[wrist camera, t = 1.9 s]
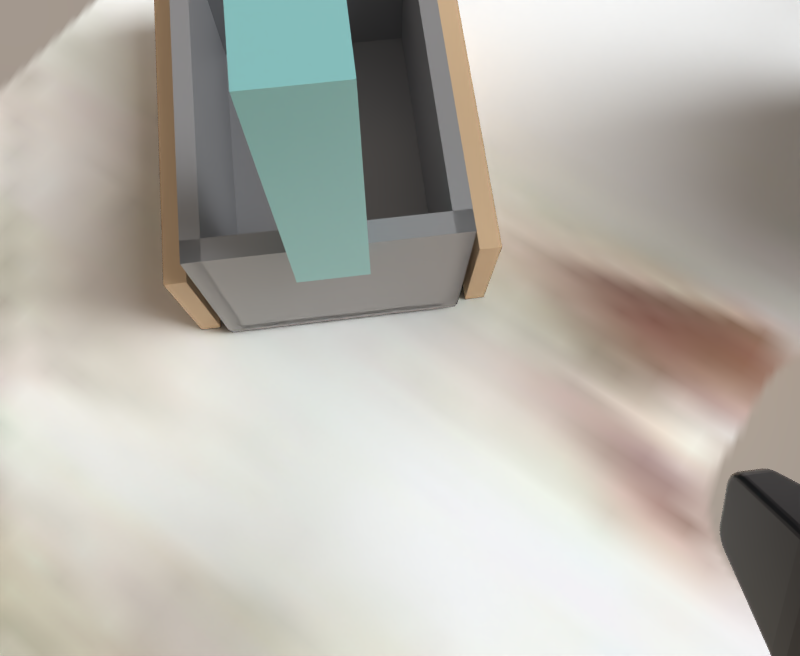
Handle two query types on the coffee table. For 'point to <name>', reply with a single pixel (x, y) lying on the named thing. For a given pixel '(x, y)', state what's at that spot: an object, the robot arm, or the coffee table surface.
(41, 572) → the coffee table surface
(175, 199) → the tan open box
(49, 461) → the coffee table surface
